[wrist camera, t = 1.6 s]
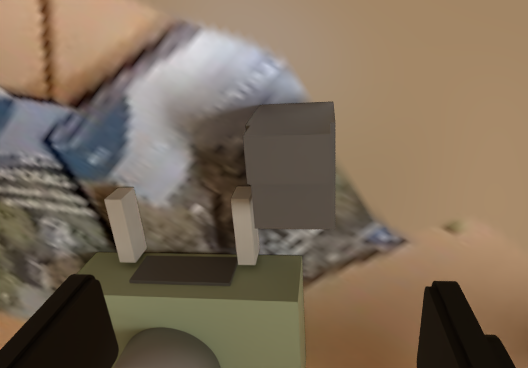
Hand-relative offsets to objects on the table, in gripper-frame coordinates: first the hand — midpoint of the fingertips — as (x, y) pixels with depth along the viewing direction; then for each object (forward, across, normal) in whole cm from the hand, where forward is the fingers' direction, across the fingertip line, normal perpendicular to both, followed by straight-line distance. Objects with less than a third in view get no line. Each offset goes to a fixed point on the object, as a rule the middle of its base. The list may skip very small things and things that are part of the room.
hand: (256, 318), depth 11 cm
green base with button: (+16, +8, +10) cm, 20 cm away
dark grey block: (+16, 0, 0) cm, 16 cm away
